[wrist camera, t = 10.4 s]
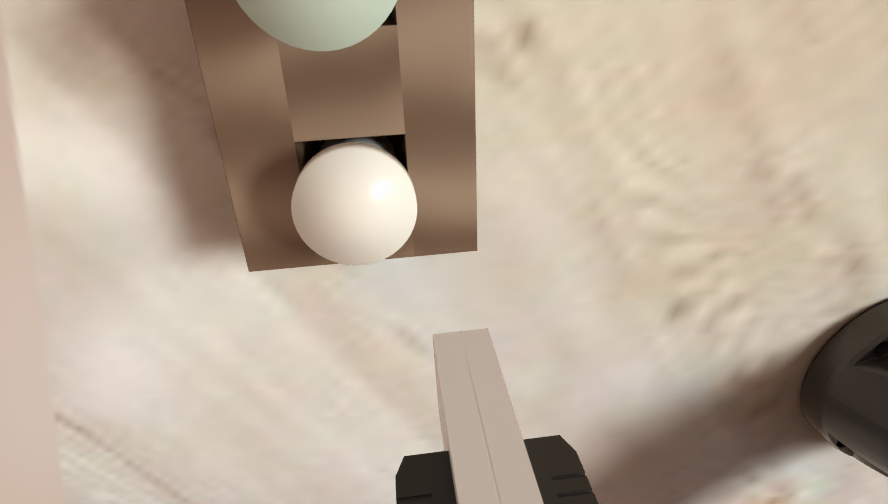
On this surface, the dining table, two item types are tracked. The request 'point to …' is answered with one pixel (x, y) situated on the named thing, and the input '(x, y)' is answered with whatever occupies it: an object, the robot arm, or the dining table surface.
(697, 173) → the dining table surface
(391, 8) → the knob middle
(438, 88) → the panel
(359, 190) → the knob
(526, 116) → the dining table surface
